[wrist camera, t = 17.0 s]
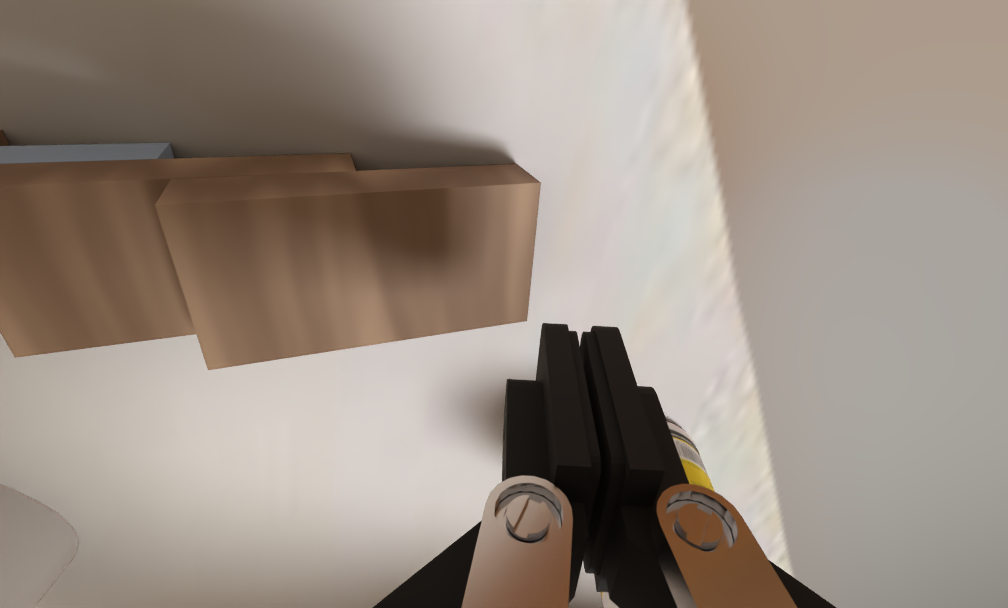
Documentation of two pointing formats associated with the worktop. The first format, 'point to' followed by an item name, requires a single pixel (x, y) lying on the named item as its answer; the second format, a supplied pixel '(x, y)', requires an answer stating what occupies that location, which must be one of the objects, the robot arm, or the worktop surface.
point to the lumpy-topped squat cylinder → (31, 548)
